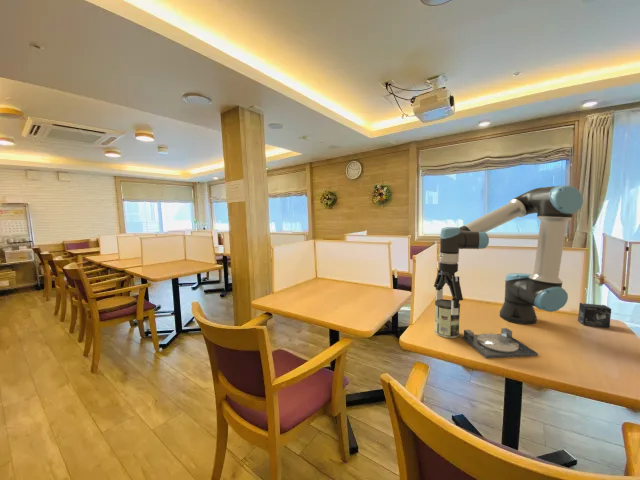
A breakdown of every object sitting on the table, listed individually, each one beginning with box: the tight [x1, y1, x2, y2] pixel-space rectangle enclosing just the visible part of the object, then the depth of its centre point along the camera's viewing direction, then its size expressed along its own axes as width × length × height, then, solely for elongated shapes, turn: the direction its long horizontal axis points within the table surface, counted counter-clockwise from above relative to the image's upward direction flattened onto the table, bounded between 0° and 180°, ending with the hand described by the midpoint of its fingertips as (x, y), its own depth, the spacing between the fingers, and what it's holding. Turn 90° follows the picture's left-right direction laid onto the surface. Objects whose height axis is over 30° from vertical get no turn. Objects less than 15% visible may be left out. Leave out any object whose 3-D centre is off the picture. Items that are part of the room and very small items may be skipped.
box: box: [577, 302, 612, 329], centre depth 127 cm, size 9×6×10 cm, turn 68°
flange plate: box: [461, 327, 539, 359], centre depth 109 cm, size 20×16×4 cm
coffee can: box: [434, 298, 461, 339], centre depth 121 cm, size 10×10×14 cm
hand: (446, 308), depth 121 cm, fingers open, 13 cm apart
